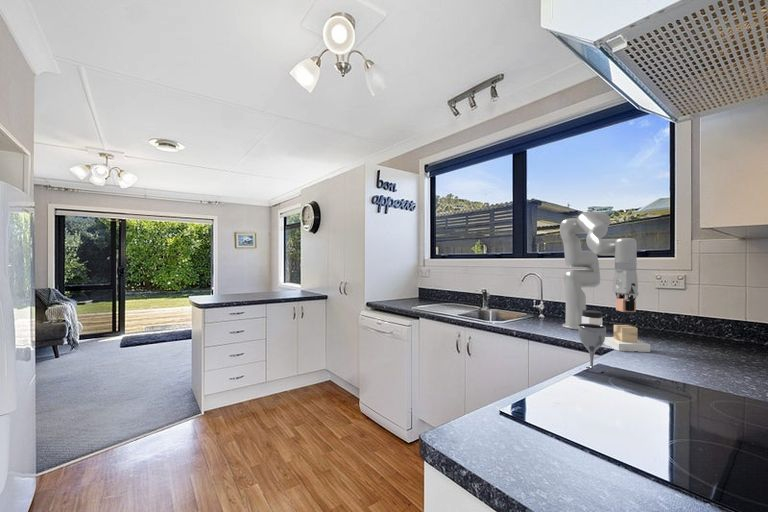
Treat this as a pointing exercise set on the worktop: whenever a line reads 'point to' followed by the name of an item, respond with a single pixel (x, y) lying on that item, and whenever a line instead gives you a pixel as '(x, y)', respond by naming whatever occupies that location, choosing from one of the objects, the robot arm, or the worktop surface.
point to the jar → (591, 317)
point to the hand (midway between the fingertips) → (625, 309)
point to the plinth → (627, 345)
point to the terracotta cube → (623, 305)
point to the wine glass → (592, 338)
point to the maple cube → (625, 333)
